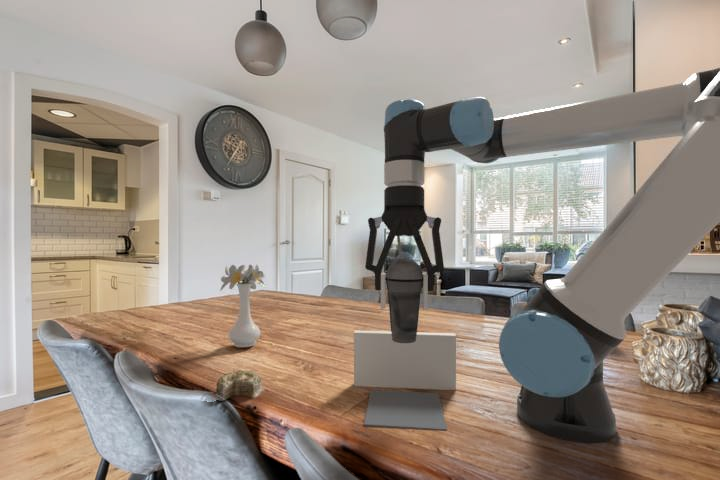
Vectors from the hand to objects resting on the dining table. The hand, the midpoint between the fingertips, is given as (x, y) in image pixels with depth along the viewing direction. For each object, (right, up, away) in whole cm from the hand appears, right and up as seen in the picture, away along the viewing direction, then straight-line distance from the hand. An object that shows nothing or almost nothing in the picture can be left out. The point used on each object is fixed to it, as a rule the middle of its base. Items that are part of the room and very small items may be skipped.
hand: (404, 307), depth 68 cm
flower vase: (-44, -20, +43) cm, 65 cm away
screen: (+1, -20, +11) cm, 23 cm away
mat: (0, -20, 0) cm, 20 cm away
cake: (-34, -20, +8) cm, 40 cm away
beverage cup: (0, -6, 0) cm, 6 cm away
